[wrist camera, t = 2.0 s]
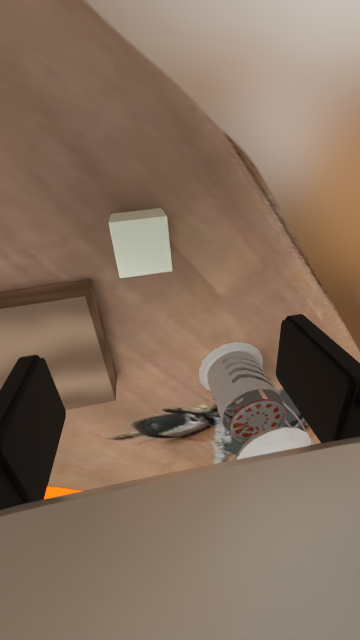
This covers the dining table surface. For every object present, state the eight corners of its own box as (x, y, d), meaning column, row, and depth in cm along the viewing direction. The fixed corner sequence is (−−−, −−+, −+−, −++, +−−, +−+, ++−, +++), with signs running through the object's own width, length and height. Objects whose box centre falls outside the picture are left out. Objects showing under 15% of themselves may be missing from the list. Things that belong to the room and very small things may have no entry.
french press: (219, 333, 37) (348, 569, 15) (285, 355, 41) (460, 568, 19) (187, 386, 41) (254, 636, 19) (250, 402, 45) (364, 623, 23)
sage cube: (111, 213, 28) (108, 222, 23) (160, 208, 28) (167, 216, 24) (120, 261, 30) (119, 278, 26) (166, 256, 31) (172, 271, 26)
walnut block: (-43, 297, 29) (-72, 320, 25) (90, 277, 31) (84, 296, 26) (10, 392, 36) (-6, 423, 32) (116, 373, 38) (115, 400, 33)
